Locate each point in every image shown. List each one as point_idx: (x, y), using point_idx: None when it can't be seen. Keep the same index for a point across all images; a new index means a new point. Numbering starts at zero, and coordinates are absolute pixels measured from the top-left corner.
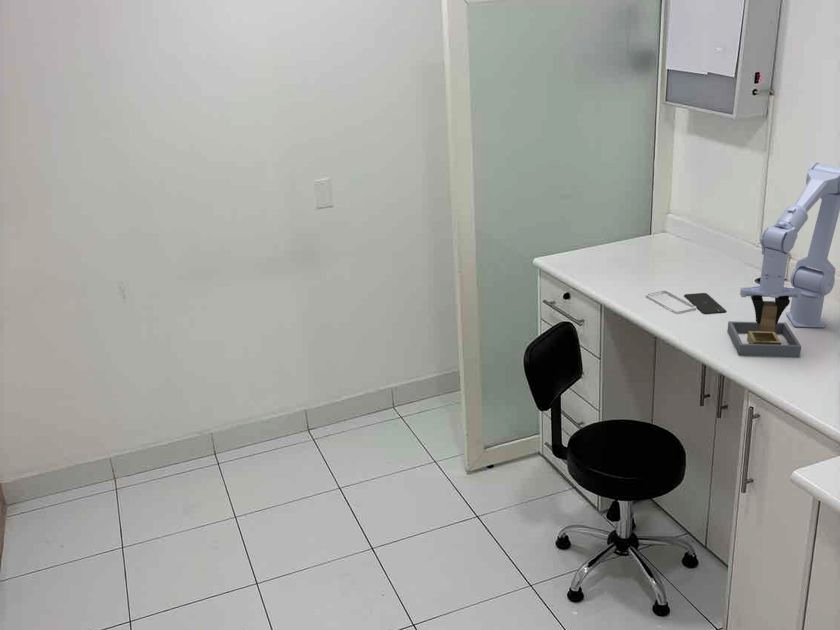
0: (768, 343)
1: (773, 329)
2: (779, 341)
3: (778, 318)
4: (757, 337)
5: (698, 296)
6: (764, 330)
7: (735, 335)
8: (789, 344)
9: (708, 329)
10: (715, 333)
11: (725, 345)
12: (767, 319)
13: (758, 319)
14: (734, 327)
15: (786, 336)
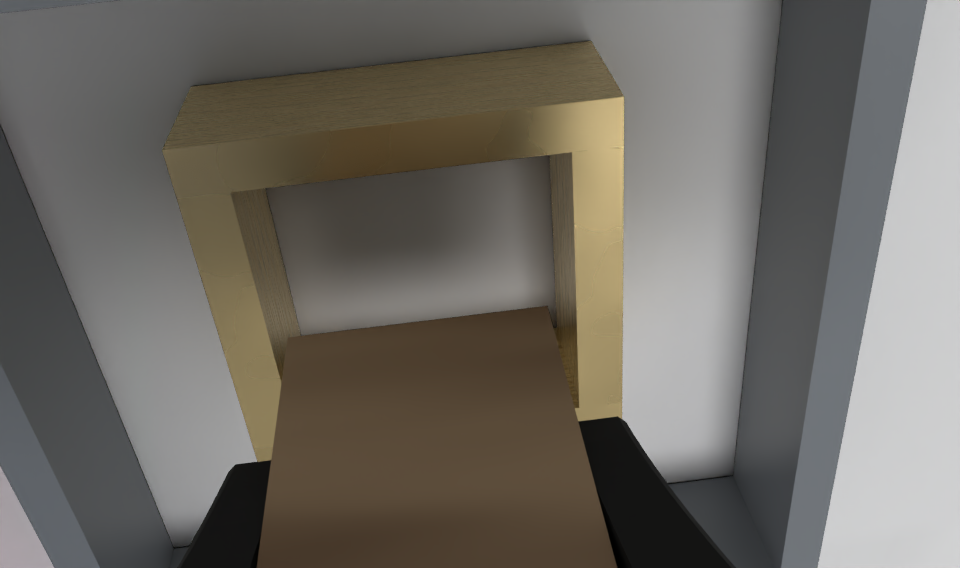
0: (376, 115)
1: (298, 360)
2: (193, 192)
3: (196, 560)
4: None
5: None
6: (461, 323)
7: (879, 239)
8: (66, 302)
9: (942, 498)
10: (907, 431)
11: (917, 149)
12: (449, 503)
13: (651, 473)
14: (798, 469)
15: (112, 460)
